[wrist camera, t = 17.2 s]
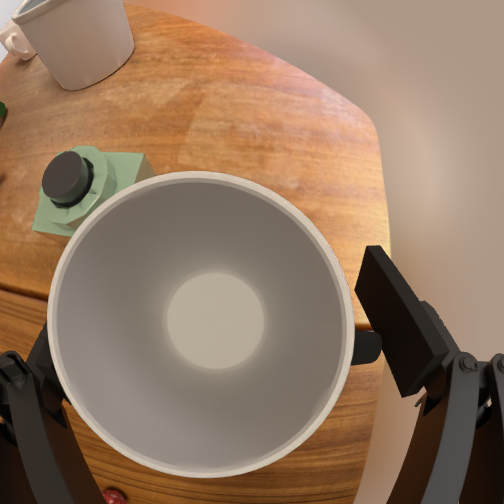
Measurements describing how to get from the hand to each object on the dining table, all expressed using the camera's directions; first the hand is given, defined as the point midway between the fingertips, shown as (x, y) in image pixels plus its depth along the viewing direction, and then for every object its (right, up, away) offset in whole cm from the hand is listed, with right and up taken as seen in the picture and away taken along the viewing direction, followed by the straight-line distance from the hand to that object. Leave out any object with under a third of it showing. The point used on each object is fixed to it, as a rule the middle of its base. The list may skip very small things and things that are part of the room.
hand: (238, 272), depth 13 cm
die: (-15, -27, +7) cm, 31 cm away
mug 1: (-46, +42, +20) cm, 65 cm away
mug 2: (0, -4, +4) cm, 5 cm away
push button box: (-14, +5, +13) cm, 20 cm away
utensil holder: (-24, +31, +19) cm, 44 cm away
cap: (-14, +6, +6) cm, 16 cm away
